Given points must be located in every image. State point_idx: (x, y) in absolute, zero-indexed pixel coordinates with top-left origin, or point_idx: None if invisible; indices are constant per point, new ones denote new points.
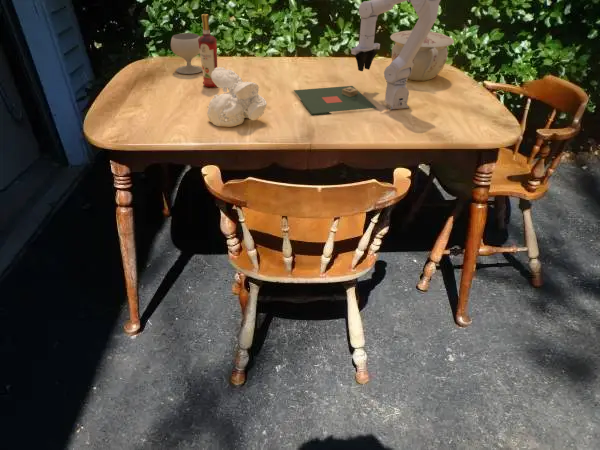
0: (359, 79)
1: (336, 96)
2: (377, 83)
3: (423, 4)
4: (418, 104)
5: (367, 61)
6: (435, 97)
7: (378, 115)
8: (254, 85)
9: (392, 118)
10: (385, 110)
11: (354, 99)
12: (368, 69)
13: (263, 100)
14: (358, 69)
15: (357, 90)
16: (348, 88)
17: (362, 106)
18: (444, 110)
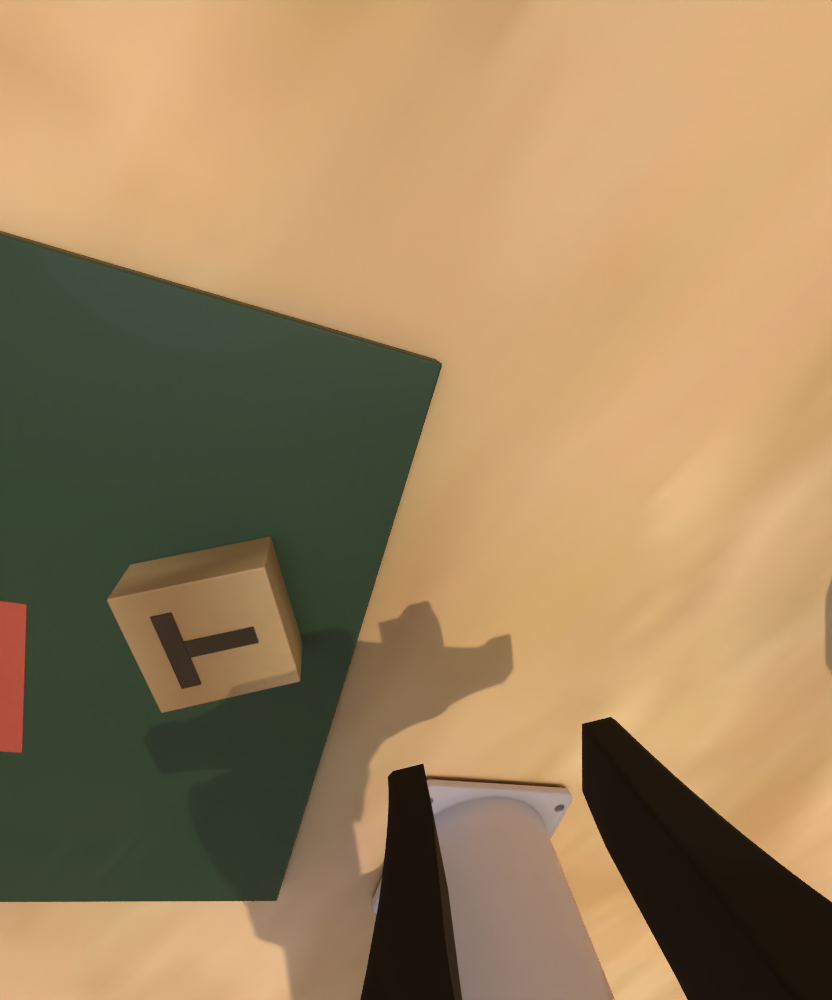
0: (768, 99)
1: (14, 611)
2: (790, 381)
3: None
4: (611, 866)
5: (682, 926)
6: (803, 807)
7: (227, 949)
8: None
9: (288, 987)
10: (334, 899)
11: (191, 735)
12: (586, 794)
13: None
14: (389, 797)
15: (294, 678)
16: (210, 608)
17: (174, 866)
18: (648, 946)
